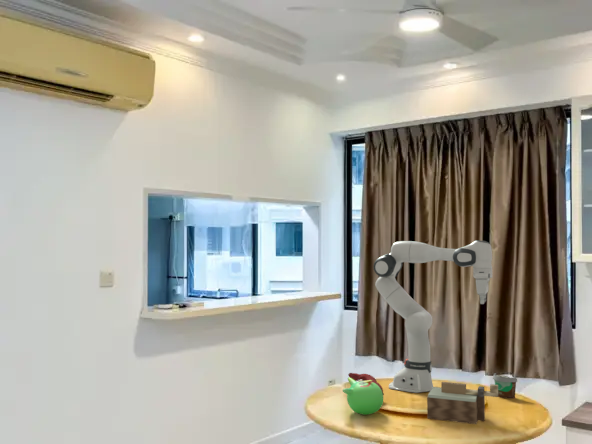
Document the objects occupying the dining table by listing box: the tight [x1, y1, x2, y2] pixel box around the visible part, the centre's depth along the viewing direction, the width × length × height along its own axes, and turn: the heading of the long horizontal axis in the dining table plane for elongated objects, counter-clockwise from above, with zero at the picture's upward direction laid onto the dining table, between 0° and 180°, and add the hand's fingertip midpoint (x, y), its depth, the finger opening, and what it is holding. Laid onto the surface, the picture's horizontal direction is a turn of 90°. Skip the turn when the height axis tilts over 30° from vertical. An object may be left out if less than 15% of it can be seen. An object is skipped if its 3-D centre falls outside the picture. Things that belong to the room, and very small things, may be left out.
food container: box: [492, 372, 518, 399], centre depth 289 cm, size 12×6×10 cm, turn 37°
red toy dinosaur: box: [348, 372, 385, 396], centre depth 292 cm, size 28×9×15 cm
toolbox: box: [426, 385, 486, 425], centre depth 257 cm, size 22×14×13 cm, turn 67°
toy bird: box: [342, 376, 384, 416], centre depth 262 cm, size 18×17×15 cm
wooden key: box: [465, 383, 499, 398], centre depth 253 cm, size 13×2×4 cm, turn 67°
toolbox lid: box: [427, 381, 478, 402], centre depth 257 cm, size 19×14×6 cm
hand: (483, 302), depth 289 cm, fingers open, 8 cm apart
